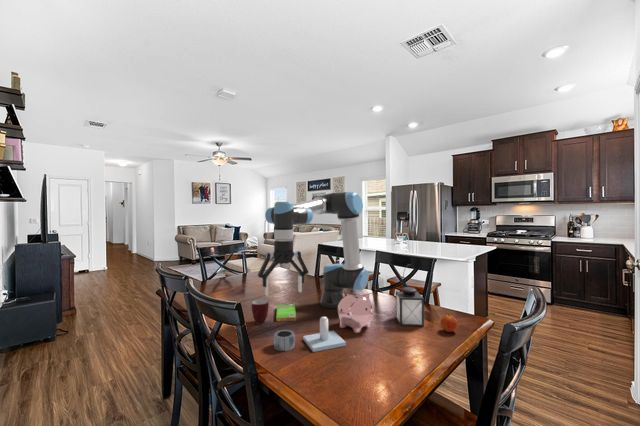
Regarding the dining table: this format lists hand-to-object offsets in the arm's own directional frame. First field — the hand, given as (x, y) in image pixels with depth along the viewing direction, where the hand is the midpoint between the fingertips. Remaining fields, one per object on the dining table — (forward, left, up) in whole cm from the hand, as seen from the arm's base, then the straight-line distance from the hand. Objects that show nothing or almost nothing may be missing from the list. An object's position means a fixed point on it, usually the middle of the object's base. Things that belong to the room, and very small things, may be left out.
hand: (283, 293), depth 118 cm
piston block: (-16, +3, -21) cm, 27 cm away
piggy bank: (-36, -6, -22) cm, 43 cm away
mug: (+5, -28, -22) cm, 36 cm away
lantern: (-63, -2, -22) cm, 67 cm away
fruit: (-72, +14, -22) cm, 77 cm away
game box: (-10, -36, -22) cm, 44 cm away
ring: (0, 0, -21) cm, 21 cm away
